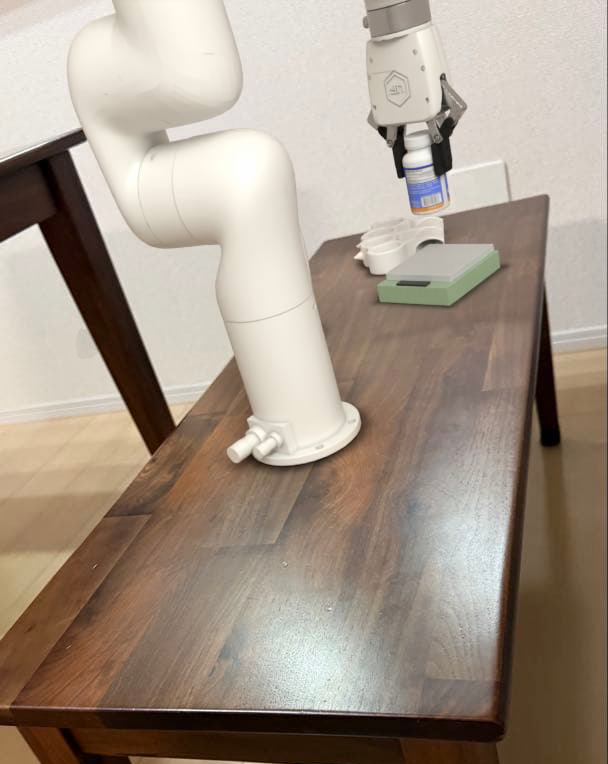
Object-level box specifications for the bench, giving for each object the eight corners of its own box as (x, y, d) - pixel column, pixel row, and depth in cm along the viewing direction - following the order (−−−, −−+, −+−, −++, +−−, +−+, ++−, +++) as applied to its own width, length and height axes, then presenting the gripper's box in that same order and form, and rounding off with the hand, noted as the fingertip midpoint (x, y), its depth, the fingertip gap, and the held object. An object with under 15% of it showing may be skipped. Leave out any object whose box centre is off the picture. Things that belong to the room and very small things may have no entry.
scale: (449, 305, 113) (445, 280, 111) (379, 302, 121) (374, 278, 119) (500, 267, 120) (497, 243, 118) (431, 266, 127) (427, 243, 125)
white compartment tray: (446, 261, 127) (352, 281, 131) (444, 226, 142) (359, 245, 145) (443, 239, 125) (347, 260, 129) (441, 206, 140) (355, 225, 143)
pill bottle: (425, 203, 118) (412, 129, 113) (458, 201, 115) (447, 124, 109) (403, 217, 115) (389, 142, 110) (437, 215, 112) (424, 138, 106)
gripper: (327, 39, 106) (358, 186, 116) (440, 14, 95) (464, 180, 105) (363, 24, 110) (390, 168, 120) (476, -2, 98) (495, 160, 109)
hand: (424, 172), depth 112 cm, fingers closed on pill bottle, 5 cm apart
